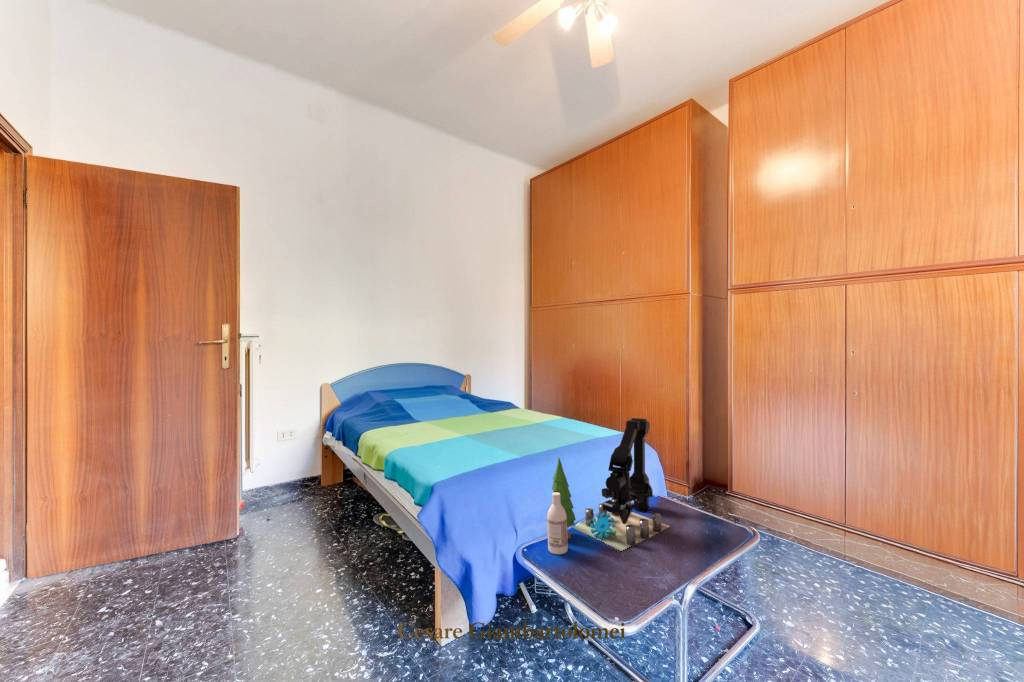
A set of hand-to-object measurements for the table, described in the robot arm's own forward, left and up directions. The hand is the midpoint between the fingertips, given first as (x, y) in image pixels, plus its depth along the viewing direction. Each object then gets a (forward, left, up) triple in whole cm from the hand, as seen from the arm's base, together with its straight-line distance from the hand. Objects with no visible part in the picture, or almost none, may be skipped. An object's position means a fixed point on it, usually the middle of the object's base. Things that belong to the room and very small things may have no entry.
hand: (624, 523), depth 156 cm
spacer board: (+1, -1, -2) cm, 2 cm away
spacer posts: (+1, 0, -2) cm, 2 cm away
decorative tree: (+23, -10, -2) cm, 25 cm away
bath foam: (+32, -4, -2) cm, 32 cm away
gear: (+12, 0, -2) cm, 12 cm away
